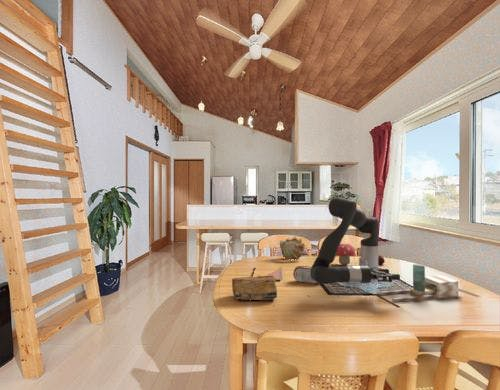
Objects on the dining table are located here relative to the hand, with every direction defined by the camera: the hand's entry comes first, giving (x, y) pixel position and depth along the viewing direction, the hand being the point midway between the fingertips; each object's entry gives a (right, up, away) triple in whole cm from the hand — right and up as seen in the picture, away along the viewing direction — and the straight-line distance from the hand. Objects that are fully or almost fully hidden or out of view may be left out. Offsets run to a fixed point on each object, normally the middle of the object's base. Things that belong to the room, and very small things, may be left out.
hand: (393, 274), depth 116 cm
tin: (-33, -12, +23) cm, 42 cm away
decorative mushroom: (-1, -12, +58) cm, 59 cm away
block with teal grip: (+17, -9, +1) cm, 19 cm away
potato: (+23, -12, +62) cm, 67 cm away
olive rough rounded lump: (-33, -12, +74) cm, 82 cm away
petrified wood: (-61, -11, +2) cm, 62 cm away
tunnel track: (+16, -11, +1) cm, 19 cm away
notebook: (-53, -12, +39) cm, 67 cm away
